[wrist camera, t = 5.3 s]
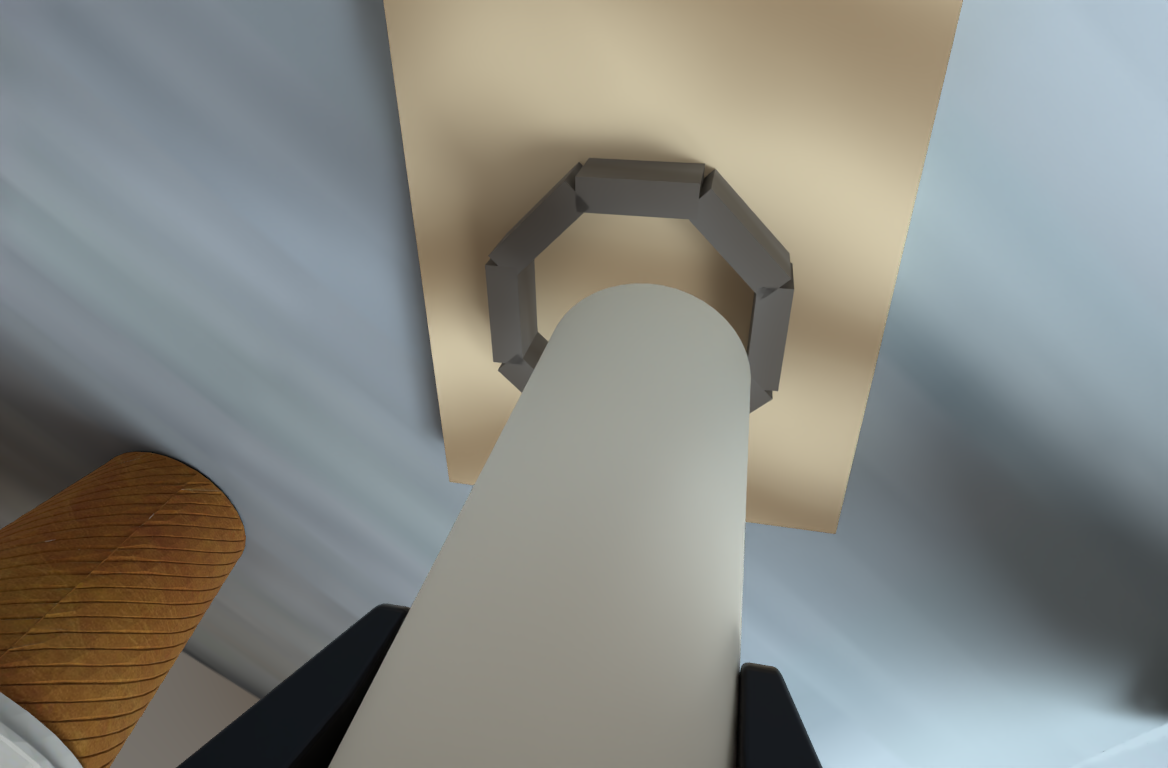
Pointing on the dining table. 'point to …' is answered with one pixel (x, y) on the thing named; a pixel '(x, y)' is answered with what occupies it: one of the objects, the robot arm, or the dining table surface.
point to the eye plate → (670, 197)
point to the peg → (587, 563)
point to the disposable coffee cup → (104, 604)
